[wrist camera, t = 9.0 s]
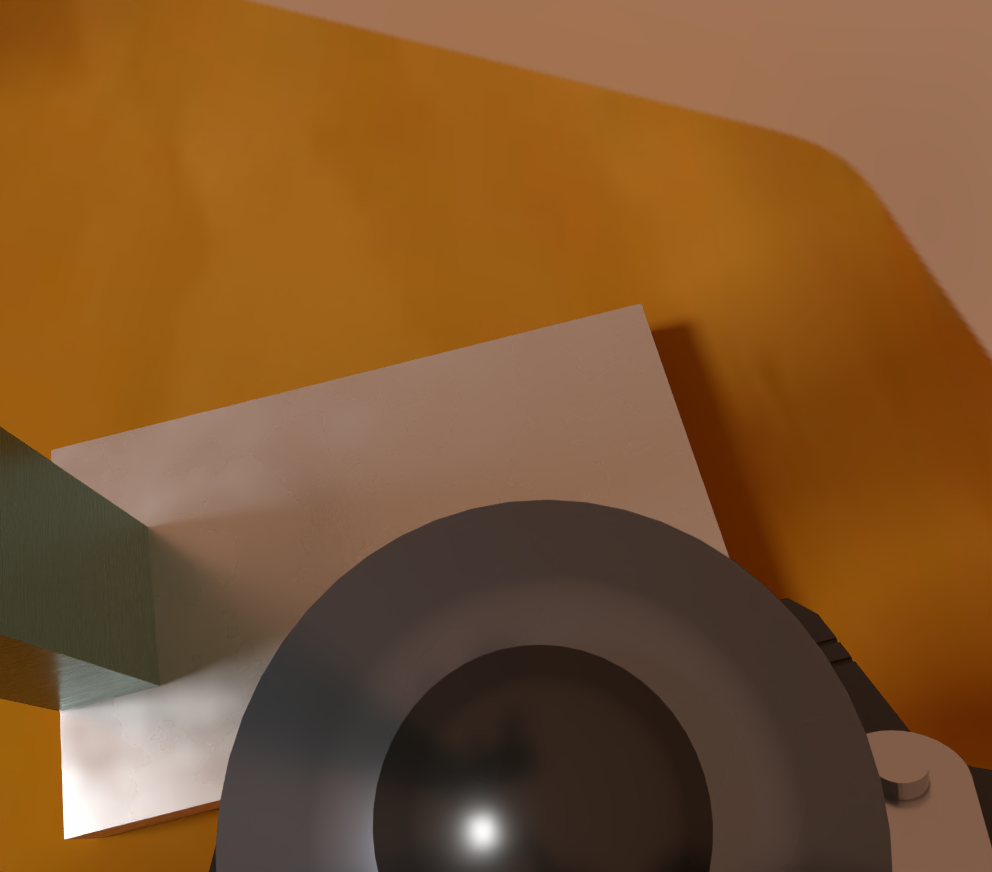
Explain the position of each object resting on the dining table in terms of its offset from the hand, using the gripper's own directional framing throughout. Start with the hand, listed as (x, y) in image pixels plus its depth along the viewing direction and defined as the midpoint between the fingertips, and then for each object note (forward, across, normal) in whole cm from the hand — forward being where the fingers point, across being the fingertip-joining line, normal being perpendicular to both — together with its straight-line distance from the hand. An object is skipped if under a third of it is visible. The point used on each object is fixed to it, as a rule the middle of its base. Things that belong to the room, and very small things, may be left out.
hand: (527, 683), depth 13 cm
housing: (+2, 0, +4) cm, 5 cm away
